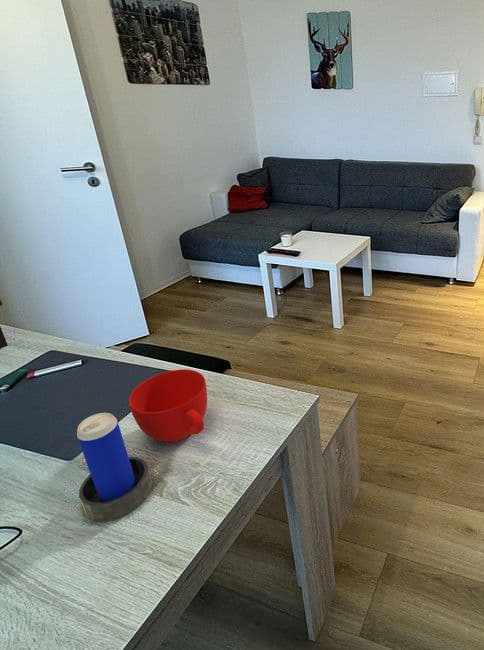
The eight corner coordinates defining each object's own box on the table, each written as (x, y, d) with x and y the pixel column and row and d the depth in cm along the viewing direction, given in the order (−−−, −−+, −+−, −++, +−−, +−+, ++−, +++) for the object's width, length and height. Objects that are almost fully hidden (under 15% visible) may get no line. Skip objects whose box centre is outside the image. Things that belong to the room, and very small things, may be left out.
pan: (71, 512, 69) (64, 494, 67) (124, 467, 77) (119, 450, 75) (115, 531, 66) (108, 513, 64) (165, 483, 74) (160, 465, 72)
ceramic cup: (172, 478, 75) (160, 434, 71) (128, 435, 84) (115, 393, 80) (238, 434, 84) (231, 393, 81) (192, 400, 94) (183, 361, 90)
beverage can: (126, 476, 74) (105, 407, 69) (144, 490, 72) (122, 418, 66) (94, 499, 70) (68, 426, 65) (111, 514, 68) (85, 440, 62)
